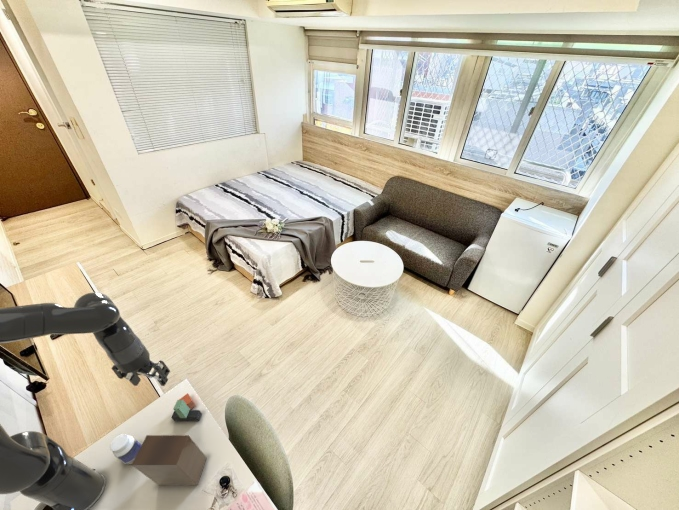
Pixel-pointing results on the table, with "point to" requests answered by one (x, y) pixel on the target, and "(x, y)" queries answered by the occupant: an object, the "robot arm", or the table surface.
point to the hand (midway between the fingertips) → (151, 383)
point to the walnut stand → (170, 460)
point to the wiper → (185, 412)
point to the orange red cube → (188, 401)
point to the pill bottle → (125, 448)
